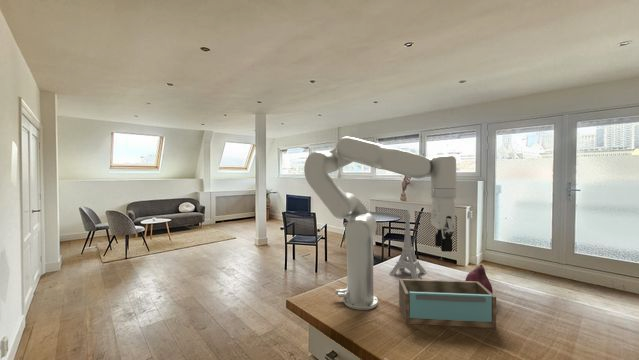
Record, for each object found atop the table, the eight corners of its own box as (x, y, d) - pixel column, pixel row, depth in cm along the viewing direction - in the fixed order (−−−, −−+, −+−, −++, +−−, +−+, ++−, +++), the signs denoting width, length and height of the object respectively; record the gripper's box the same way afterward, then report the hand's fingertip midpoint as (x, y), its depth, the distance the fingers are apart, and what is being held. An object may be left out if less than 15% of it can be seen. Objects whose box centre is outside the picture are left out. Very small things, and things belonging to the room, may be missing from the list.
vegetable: (496, 313, 98) (507, 277, 93) (465, 306, 100) (474, 271, 95) (486, 293, 107) (495, 260, 103) (458, 288, 109) (466, 255, 105)
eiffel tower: (426, 272, 129) (426, 209, 129) (417, 281, 119) (417, 213, 118) (399, 267, 137) (399, 207, 137) (388, 274, 127) (388, 210, 126)
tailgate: (410, 318, 85) (410, 293, 85) (409, 316, 86) (409, 291, 86) (492, 323, 82) (492, 296, 82) (490, 320, 83) (490, 294, 83)
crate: (405, 323, 86) (405, 293, 85) (399, 305, 97) (399, 278, 97) (496, 328, 82) (496, 297, 82) (478, 308, 94) (478, 281, 94)
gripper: (424, 192, 98) (424, 242, 98) (439, 195, 81) (439, 256, 81) (446, 191, 97) (446, 242, 98) (466, 195, 80) (466, 256, 81)
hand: (443, 248), depth 89 cm, fingers open, 5 cm apart
